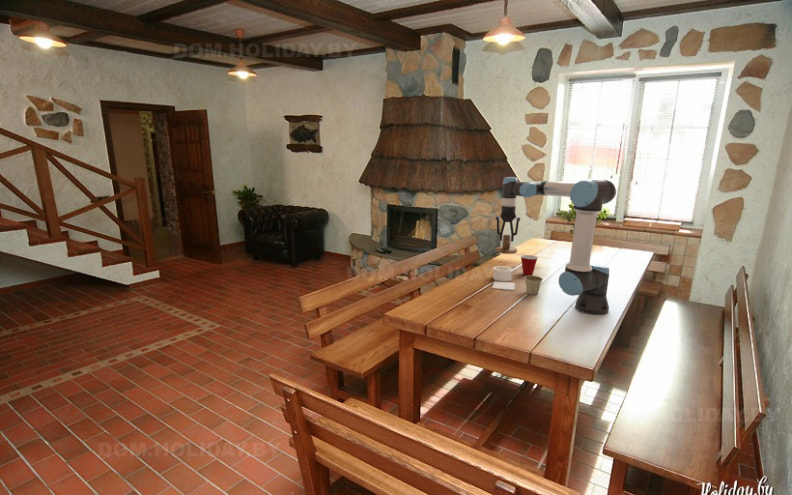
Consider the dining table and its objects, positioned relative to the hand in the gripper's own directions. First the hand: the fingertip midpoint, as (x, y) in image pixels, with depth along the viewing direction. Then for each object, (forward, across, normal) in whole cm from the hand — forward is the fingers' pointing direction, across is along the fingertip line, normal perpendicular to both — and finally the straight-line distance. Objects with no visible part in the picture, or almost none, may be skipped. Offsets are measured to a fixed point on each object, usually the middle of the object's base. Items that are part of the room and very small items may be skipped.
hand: (506, 246), depth 235 cm
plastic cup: (+24, -13, -28) cm, 39 cm away
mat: (+24, 0, 0) cm, 24 cm away
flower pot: (+24, -16, +7) cm, 30 cm away
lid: (+3, 0, 0) cm, 3 cm away
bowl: (+24, +2, -14) cm, 28 cm away
